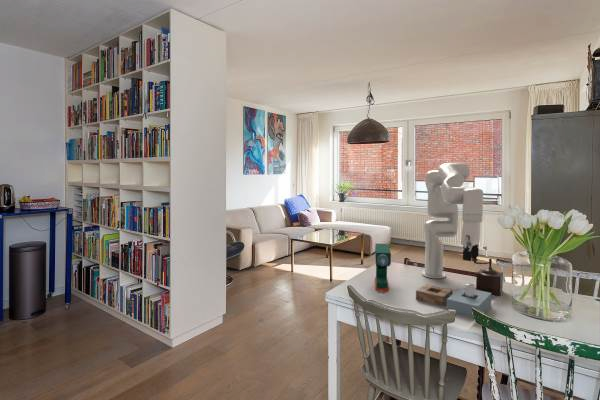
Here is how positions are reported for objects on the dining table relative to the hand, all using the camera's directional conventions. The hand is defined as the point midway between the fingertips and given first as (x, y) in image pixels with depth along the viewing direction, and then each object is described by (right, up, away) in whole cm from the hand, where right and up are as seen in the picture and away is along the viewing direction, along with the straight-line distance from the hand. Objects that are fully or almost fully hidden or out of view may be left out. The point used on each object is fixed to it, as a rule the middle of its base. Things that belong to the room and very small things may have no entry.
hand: (470, 258), depth 146 cm
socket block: (-11, -21, +12) cm, 27 cm away
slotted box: (0, -22, +2) cm, 22 cm away
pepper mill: (+19, -20, +25) cm, 37 cm away
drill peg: (0, -21, +2) cm, 21 cm away
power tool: (-31, -21, +28) cm, 46 cm away
